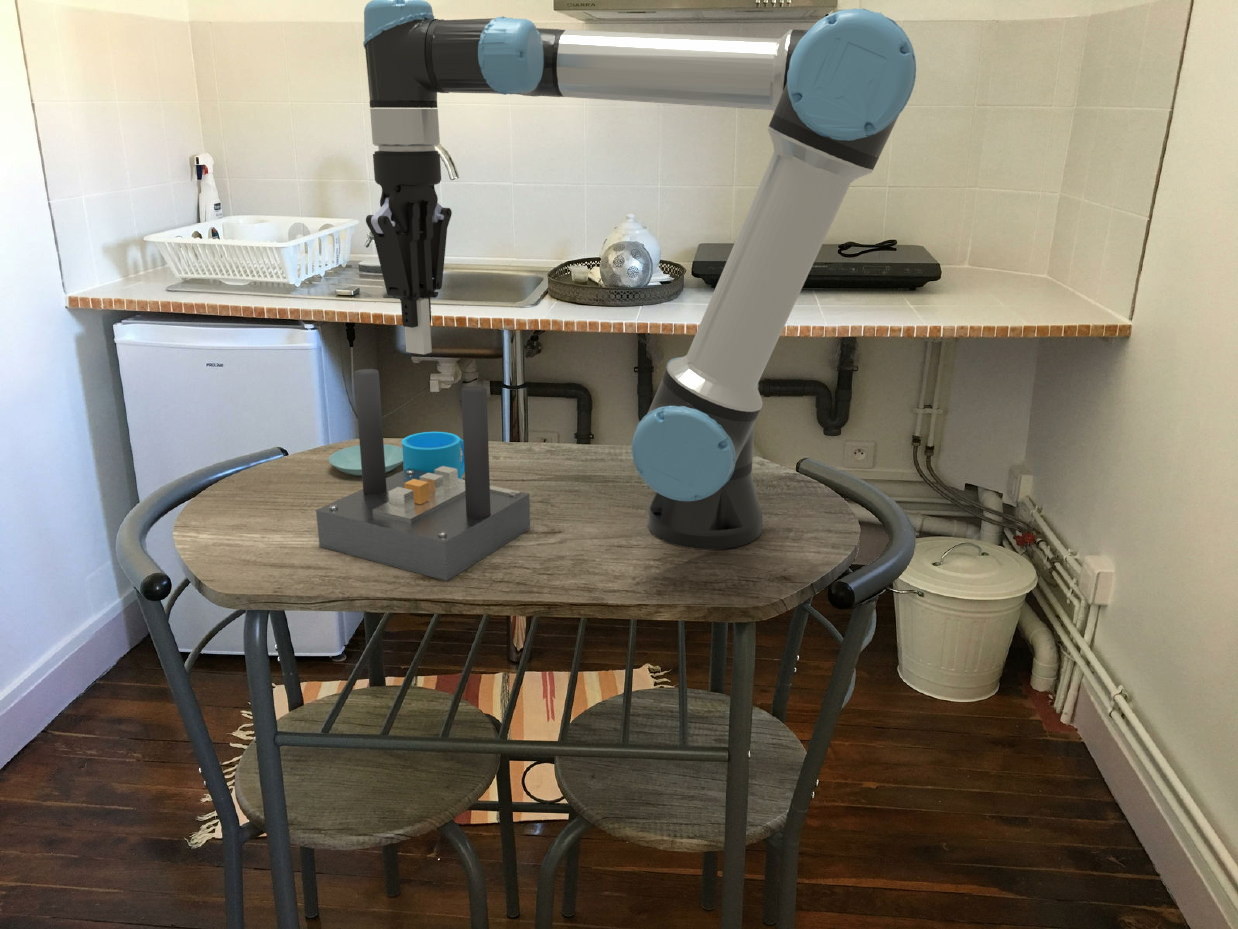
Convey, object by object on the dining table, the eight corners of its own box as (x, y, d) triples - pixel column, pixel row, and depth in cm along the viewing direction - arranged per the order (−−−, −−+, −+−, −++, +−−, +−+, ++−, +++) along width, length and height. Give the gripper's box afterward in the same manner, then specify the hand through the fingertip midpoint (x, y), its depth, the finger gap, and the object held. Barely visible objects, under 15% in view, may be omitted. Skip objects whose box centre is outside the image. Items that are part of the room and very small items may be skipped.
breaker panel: (530, 529, 134) (529, 472, 131) (446, 581, 119) (443, 518, 116) (410, 501, 143) (407, 447, 140) (319, 546, 128) (313, 487, 125)
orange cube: (429, 499, 128) (428, 482, 127) (420, 504, 126) (419, 486, 126) (414, 496, 129) (413, 478, 128) (405, 500, 128) (404, 483, 127)
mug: (436, 508, 141) (433, 453, 138) (393, 497, 145) (389, 442, 142) (490, 483, 150) (488, 431, 148) (448, 473, 154) (445, 422, 152)
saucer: (355, 488, 148) (354, 474, 147) (315, 468, 156) (313, 454, 155) (423, 470, 156) (422, 456, 155) (381, 452, 164) (380, 438, 163)
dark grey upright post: (391, 488, 134) (383, 370, 128) (376, 495, 131) (367, 375, 126) (373, 484, 135) (365, 367, 130) (358, 491, 132) (349, 372, 127)
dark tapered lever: (495, 512, 126) (491, 388, 121) (481, 520, 124) (476, 394, 118) (475, 507, 128) (471, 385, 122) (461, 515, 125) (456, 390, 120)
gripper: (416, 146, 122) (428, 338, 130) (341, 149, 111) (358, 359, 119) (467, 147, 119) (475, 345, 126) (394, 151, 108) (408, 366, 116)
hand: (419, 351), depth 123 cm, fingers closed
